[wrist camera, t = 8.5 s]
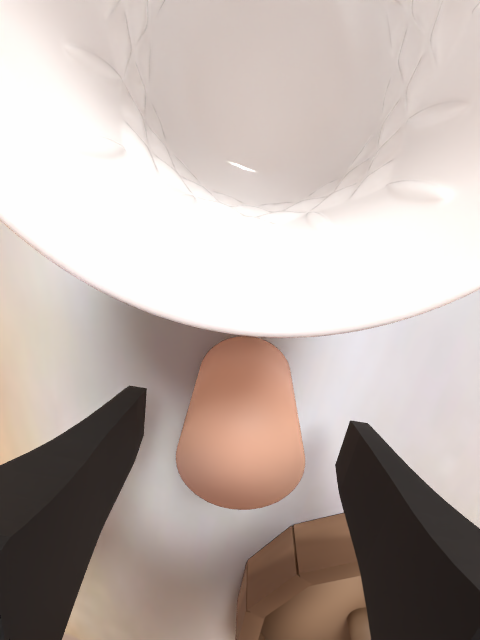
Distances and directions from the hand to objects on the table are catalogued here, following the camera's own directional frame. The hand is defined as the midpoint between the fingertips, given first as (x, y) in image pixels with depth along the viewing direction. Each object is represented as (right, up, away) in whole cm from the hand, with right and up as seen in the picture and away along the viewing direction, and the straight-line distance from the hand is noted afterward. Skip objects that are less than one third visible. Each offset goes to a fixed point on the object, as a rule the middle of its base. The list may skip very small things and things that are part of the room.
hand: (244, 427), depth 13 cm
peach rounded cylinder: (0, +1, +3) cm, 3 cm away
